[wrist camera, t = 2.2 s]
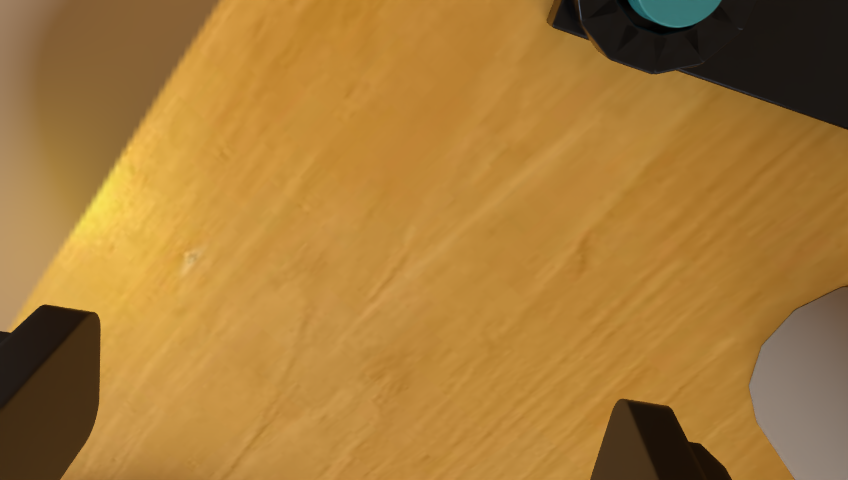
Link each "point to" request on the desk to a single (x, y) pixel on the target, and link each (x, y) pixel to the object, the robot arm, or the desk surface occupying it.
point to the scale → (732, 48)
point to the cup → (807, 389)
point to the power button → (674, 11)
